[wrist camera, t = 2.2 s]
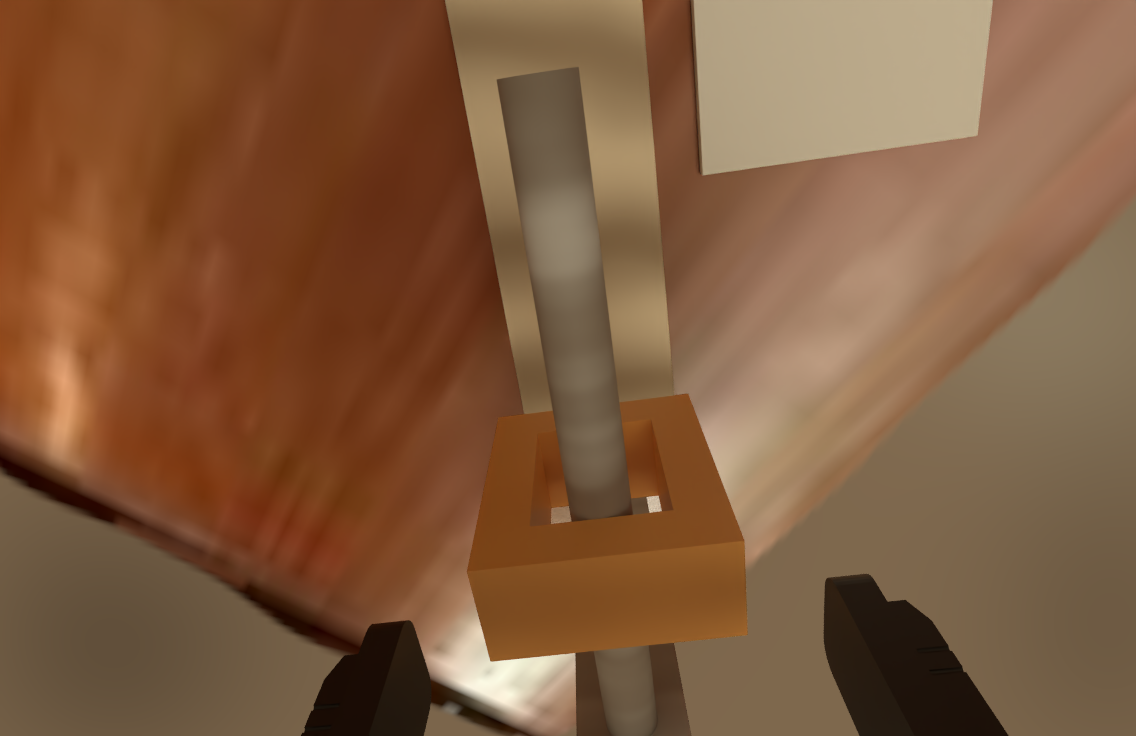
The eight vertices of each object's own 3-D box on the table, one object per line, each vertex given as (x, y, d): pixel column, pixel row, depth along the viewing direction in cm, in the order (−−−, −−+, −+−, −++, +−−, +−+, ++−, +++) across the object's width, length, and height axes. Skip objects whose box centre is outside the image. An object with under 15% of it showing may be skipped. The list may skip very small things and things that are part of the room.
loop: (513, 488, 20) (490, 661, 14) (498, 417, 19) (466, 571, 13) (693, 467, 19) (747, 634, 14) (687, 393, 18) (744, 540, 12)
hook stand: (676, 468, 33) (785, 855, 17) (542, 485, 33) (517, 878, 17) (629, -89, 23) (781, -498, 7) (440, -57, 24) (148, -369, 7)
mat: (700, 173, 27) (702, 175, 26) (682, -150, 22) (685, -155, 22) (968, 134, 26) (977, 135, 26) (1006, -206, 22) (1016, -213, 21)
